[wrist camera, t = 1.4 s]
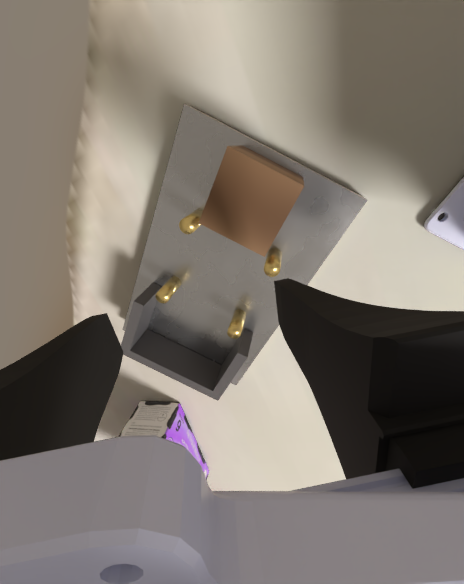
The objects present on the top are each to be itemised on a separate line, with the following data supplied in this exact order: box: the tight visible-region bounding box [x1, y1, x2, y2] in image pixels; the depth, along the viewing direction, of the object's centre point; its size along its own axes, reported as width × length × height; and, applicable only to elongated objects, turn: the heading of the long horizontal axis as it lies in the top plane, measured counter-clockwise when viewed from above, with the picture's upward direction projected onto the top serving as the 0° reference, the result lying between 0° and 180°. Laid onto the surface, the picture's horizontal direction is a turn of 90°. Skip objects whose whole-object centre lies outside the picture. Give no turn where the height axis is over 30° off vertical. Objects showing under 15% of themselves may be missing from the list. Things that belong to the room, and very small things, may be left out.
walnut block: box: [199, 145, 304, 257], centre depth 15 cm, size 4×4×4 cm
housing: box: [121, 283, 253, 400], centre depth 22 cm, size 6×9×3 cm, turn 66°
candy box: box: [119, 401, 209, 480], centre depth 27 cm, size 14×6×16 cm, turn 13°
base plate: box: [123, 104, 367, 385], centre depth 20 cm, size 19×12×4 cm, turn 156°
